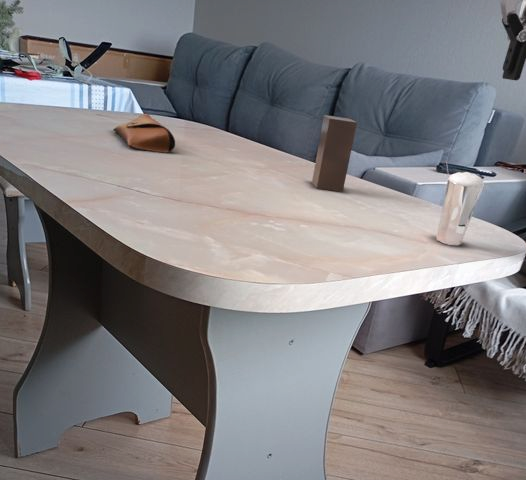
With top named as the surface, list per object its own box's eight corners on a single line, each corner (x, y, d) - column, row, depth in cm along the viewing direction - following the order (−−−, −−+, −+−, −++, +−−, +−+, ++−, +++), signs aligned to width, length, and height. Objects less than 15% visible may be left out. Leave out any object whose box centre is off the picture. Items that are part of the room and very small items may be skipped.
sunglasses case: (109, 128, 121) (128, 99, 120) (139, 149, 125) (157, 121, 124) (128, 146, 107) (150, 113, 106) (160, 169, 111) (182, 138, 110)
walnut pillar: (337, 186, 106) (350, 118, 101) (342, 192, 102) (357, 122, 97) (311, 182, 105) (324, 114, 100) (316, 188, 101) (329, 118, 96)
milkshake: (427, 232, 85) (447, 159, 81) (466, 242, 84) (489, 167, 80) (423, 240, 81) (445, 163, 77) (464, 249, 80) (488, 172, 76)
